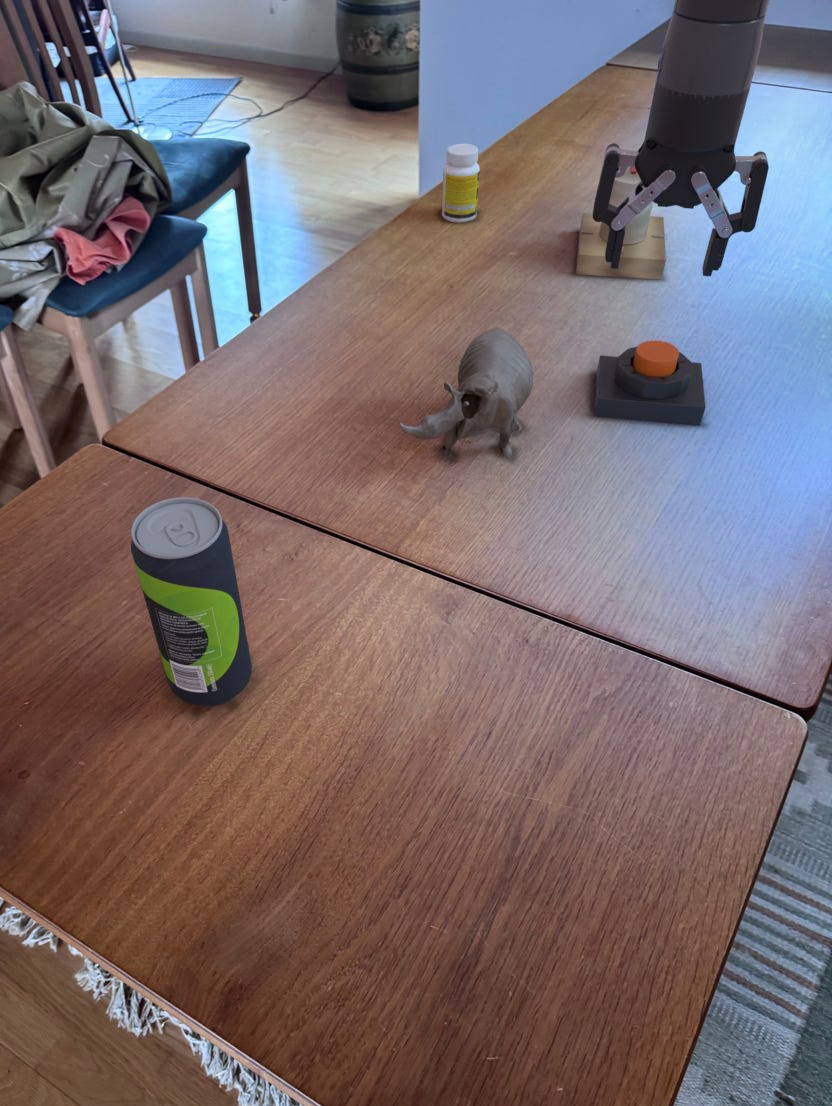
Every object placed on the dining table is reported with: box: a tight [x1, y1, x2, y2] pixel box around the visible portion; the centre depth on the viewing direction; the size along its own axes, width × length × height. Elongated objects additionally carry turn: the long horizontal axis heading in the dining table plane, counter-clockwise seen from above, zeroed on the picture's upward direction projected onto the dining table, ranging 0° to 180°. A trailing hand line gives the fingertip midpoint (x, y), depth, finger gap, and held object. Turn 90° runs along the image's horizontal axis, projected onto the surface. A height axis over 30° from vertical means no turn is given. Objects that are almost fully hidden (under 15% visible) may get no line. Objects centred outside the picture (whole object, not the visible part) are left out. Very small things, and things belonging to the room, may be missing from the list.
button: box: [633, 340, 680, 377], centre depth 88 cm, size 4×4×2 cm
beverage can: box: [130, 496, 253, 707], centre depth 62 cm, size 6×6×15 cm
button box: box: [594, 346, 706, 427], centre depth 89 cm, size 10×8×4 cm
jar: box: [599, 166, 654, 245], centre depth 108 cm, size 6×6×7 cm
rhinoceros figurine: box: [398, 327, 534, 459], centre depth 84 cm, size 8×14×15 cm
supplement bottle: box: [441, 143, 481, 224], centre depth 119 cm, size 5×5×8 cm
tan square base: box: [575, 212, 667, 280], centre depth 111 cm, size 10×12×3 cm
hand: (660, 269), depth 86 cm, fingers open, 8 cm apart
